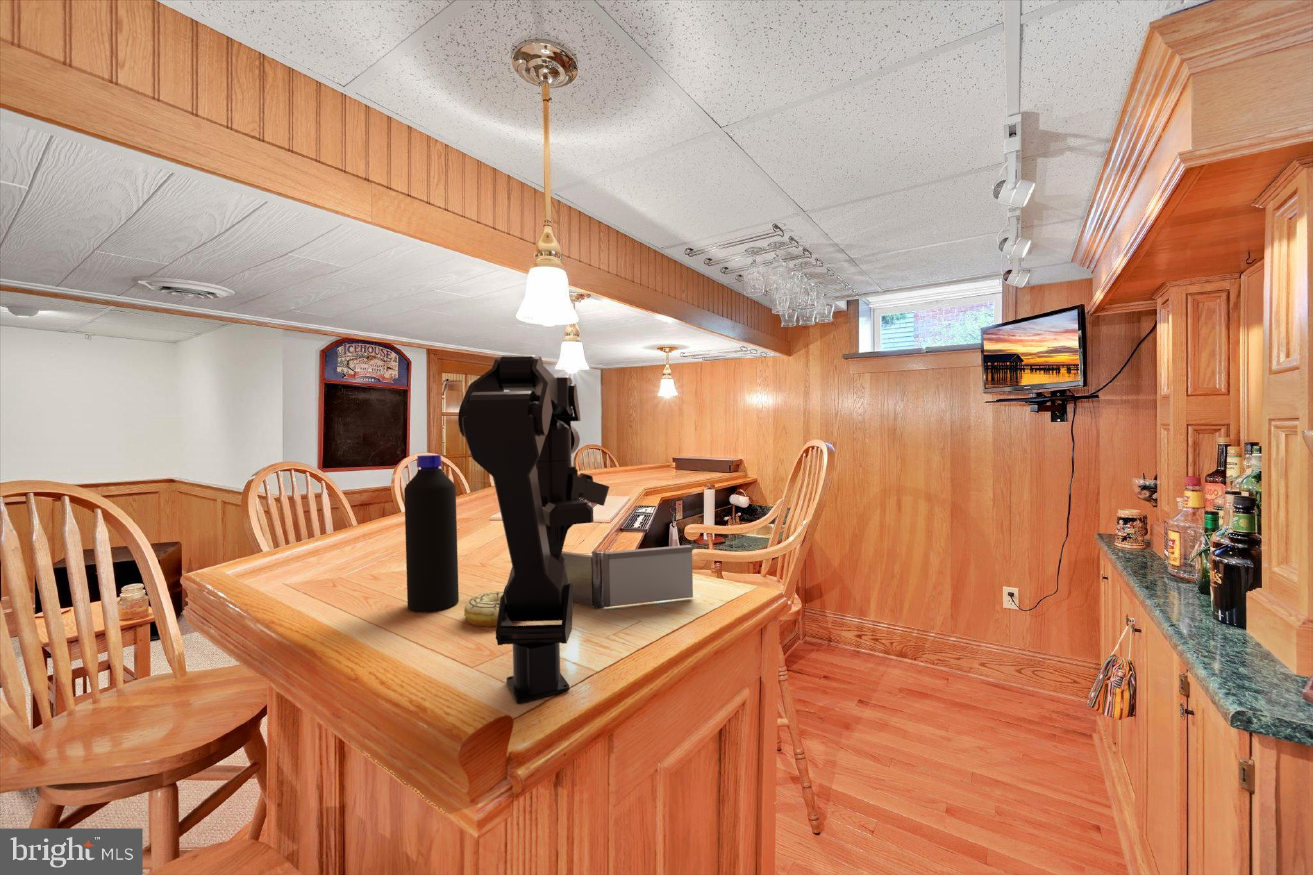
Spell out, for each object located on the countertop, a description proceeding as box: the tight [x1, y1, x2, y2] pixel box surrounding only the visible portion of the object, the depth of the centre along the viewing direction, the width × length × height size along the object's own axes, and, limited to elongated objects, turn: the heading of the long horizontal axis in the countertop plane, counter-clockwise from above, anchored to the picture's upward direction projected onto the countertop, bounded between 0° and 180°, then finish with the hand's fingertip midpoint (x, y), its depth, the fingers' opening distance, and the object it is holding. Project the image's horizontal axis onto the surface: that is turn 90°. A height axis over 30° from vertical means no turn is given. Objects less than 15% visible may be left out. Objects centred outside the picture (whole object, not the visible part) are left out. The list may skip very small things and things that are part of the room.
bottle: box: [403, 454, 460, 613], centre depth 97 cm, size 9×9×28 cm
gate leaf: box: [602, 544, 694, 608], centre depth 95 cm, size 17×2×10 cm, turn 106°
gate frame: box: [561, 550, 605, 610], centre depth 97 cm, size 14×2×10 cm, turn 57°
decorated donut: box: [463, 591, 504, 628], centre depth 90 cm, size 10×11×4 cm
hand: (554, 563), depth 78 cm, fingers closed
